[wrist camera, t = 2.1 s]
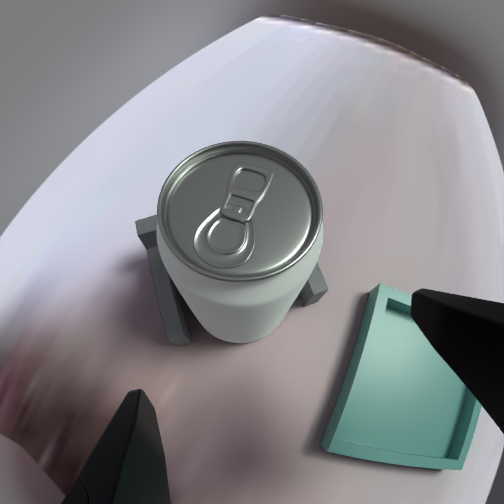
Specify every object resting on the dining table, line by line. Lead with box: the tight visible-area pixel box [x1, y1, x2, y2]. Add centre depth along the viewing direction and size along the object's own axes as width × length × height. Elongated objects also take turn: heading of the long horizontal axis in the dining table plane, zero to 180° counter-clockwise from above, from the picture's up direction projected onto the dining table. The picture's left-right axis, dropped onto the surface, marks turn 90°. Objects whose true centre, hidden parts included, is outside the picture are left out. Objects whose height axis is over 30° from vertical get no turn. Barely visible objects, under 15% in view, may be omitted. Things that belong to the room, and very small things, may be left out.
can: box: [156, 141, 323, 343], centre depth 16 cm, size 6×6×12 cm
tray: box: [320, 283, 481, 470], centre depth 18 cm, size 12×12×2 cm
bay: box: [135, 215, 328, 346], centre depth 19 cm, size 7×10×5 cm
